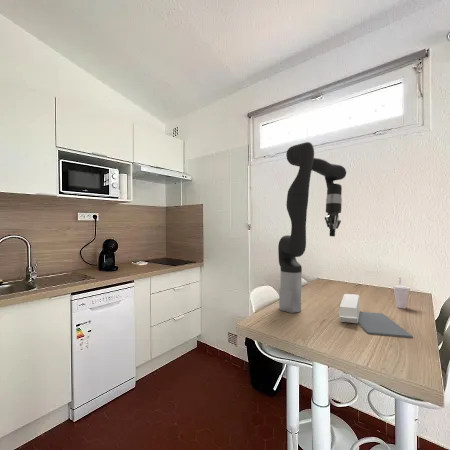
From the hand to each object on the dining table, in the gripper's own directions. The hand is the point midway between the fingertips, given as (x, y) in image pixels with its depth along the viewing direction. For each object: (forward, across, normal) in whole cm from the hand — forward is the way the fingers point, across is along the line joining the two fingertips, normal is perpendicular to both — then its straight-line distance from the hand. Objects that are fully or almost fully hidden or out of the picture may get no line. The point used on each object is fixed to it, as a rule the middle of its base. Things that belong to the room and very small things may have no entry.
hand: (332, 236), depth 125 cm
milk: (+30, -4, -13) cm, 33 cm away
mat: (+36, -12, -25) cm, 45 cm away
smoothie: (+32, +19, -25) cm, 45 cm away
